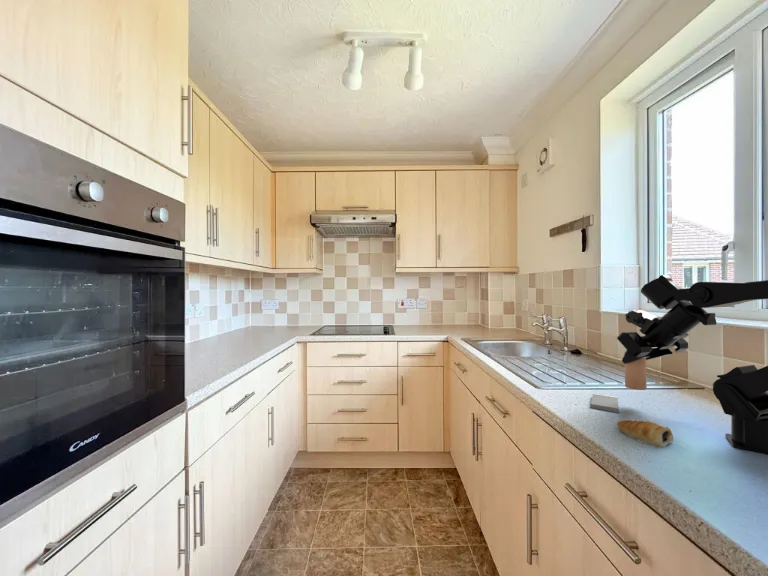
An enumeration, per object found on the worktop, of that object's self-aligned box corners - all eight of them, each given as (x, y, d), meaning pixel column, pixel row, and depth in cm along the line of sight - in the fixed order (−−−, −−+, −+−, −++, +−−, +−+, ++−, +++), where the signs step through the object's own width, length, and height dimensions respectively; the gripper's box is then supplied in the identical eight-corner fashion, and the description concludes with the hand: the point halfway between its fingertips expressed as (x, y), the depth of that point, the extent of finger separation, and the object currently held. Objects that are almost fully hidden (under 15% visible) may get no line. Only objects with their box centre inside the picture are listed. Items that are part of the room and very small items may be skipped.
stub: (647, 390, 86) (646, 343, 87) (625, 388, 89) (623, 342, 89) (646, 386, 90) (645, 341, 91) (624, 384, 93) (623, 340, 93)
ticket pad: (618, 412, 86) (618, 407, 86) (590, 407, 90) (590, 403, 90) (617, 401, 95) (617, 397, 95) (592, 397, 98) (592, 393, 98)
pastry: (610, 432, 75) (610, 415, 75) (627, 426, 78) (627, 410, 78) (659, 450, 67) (660, 431, 67) (677, 443, 70) (677, 425, 70)
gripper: (673, 298, 90) (631, 336, 100) (623, 299, 83) (584, 339, 93) (711, 331, 82) (662, 368, 92) (660, 335, 76) (613, 374, 86)
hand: (629, 361), depth 91 cm, fingers closed on stub, 5 cm apart
